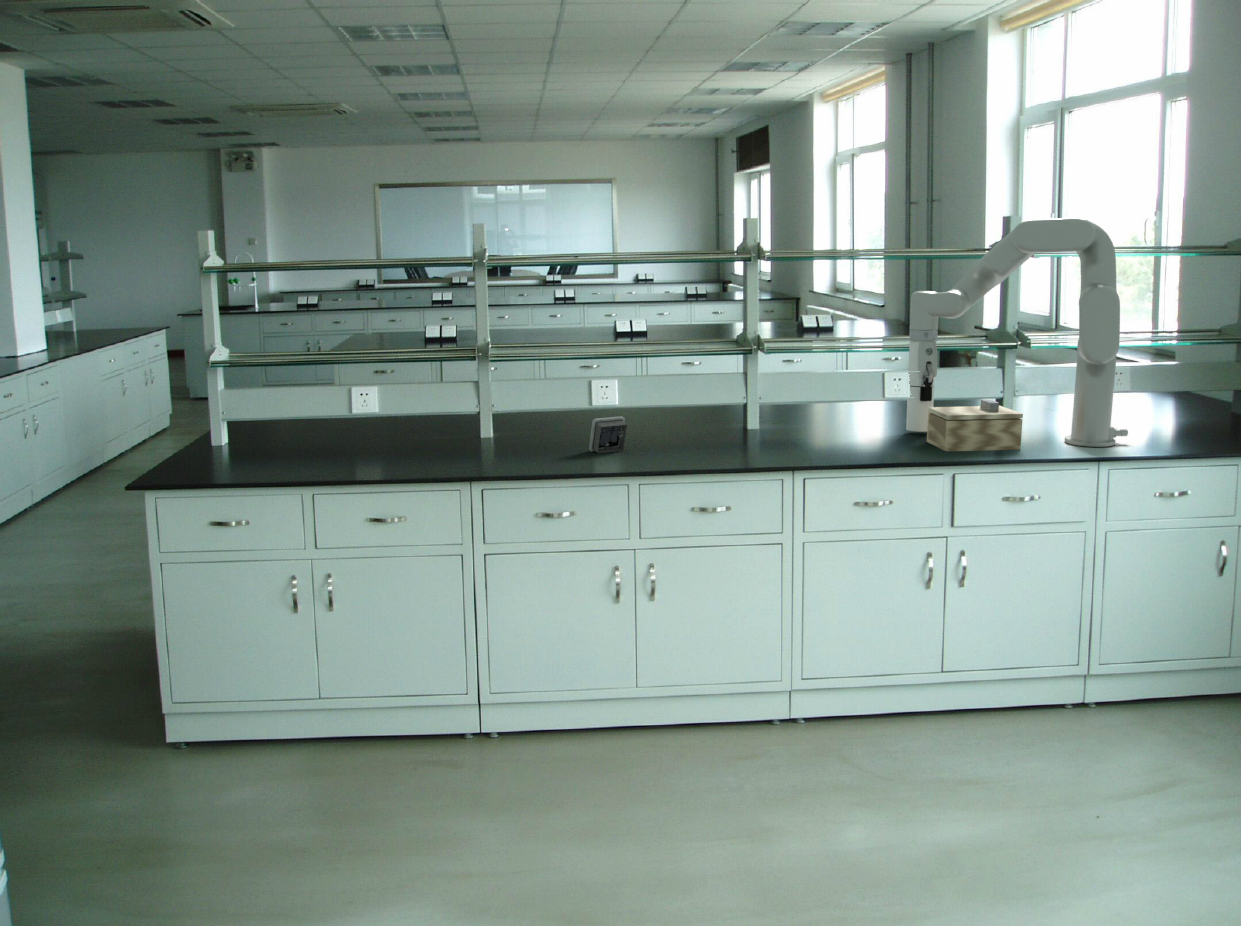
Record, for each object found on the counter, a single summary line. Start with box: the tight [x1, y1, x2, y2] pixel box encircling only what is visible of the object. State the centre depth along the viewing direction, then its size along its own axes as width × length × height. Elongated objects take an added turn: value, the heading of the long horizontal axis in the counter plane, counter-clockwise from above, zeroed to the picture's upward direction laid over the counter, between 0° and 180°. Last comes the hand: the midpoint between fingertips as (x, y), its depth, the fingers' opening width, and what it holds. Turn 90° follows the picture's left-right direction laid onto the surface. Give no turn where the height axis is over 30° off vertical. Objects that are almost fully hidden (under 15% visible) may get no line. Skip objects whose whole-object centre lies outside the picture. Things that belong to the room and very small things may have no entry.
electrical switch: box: [588, 415, 628, 454], centre depth 282 cm, size 9×5×9 cm, turn 118°
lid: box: [928, 398, 1024, 420], centre depth 284 cm, size 20×14×4 cm
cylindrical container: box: [905, 341, 936, 433], centre depth 301 cm, size 7×7×25 cm
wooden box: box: [926, 413, 1024, 452], centre depth 286 cm, size 20×14×8 cm
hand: (920, 398), depth 302 cm, fingers closed on cylindrical container, 7 cm apart
